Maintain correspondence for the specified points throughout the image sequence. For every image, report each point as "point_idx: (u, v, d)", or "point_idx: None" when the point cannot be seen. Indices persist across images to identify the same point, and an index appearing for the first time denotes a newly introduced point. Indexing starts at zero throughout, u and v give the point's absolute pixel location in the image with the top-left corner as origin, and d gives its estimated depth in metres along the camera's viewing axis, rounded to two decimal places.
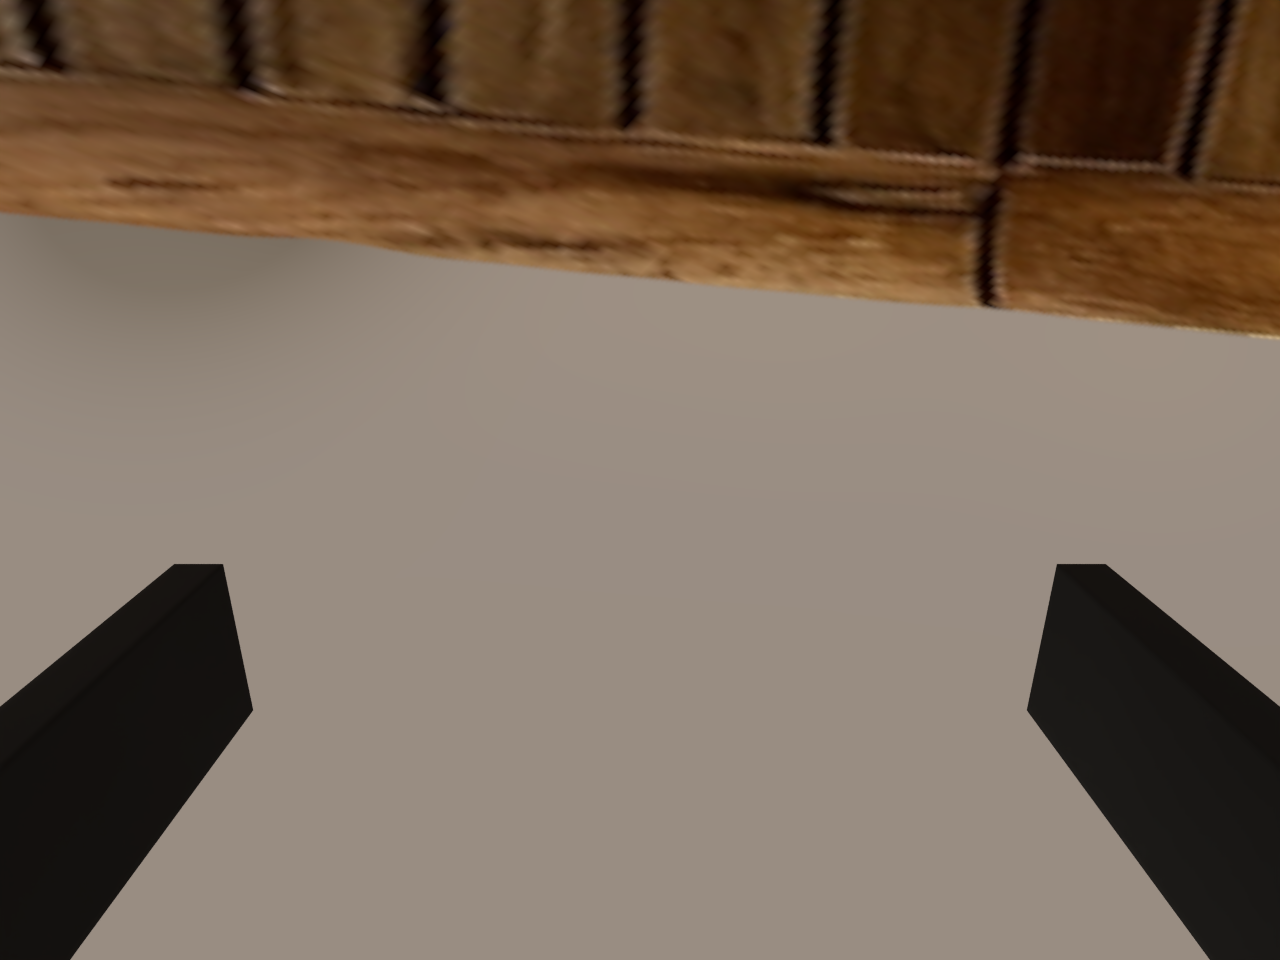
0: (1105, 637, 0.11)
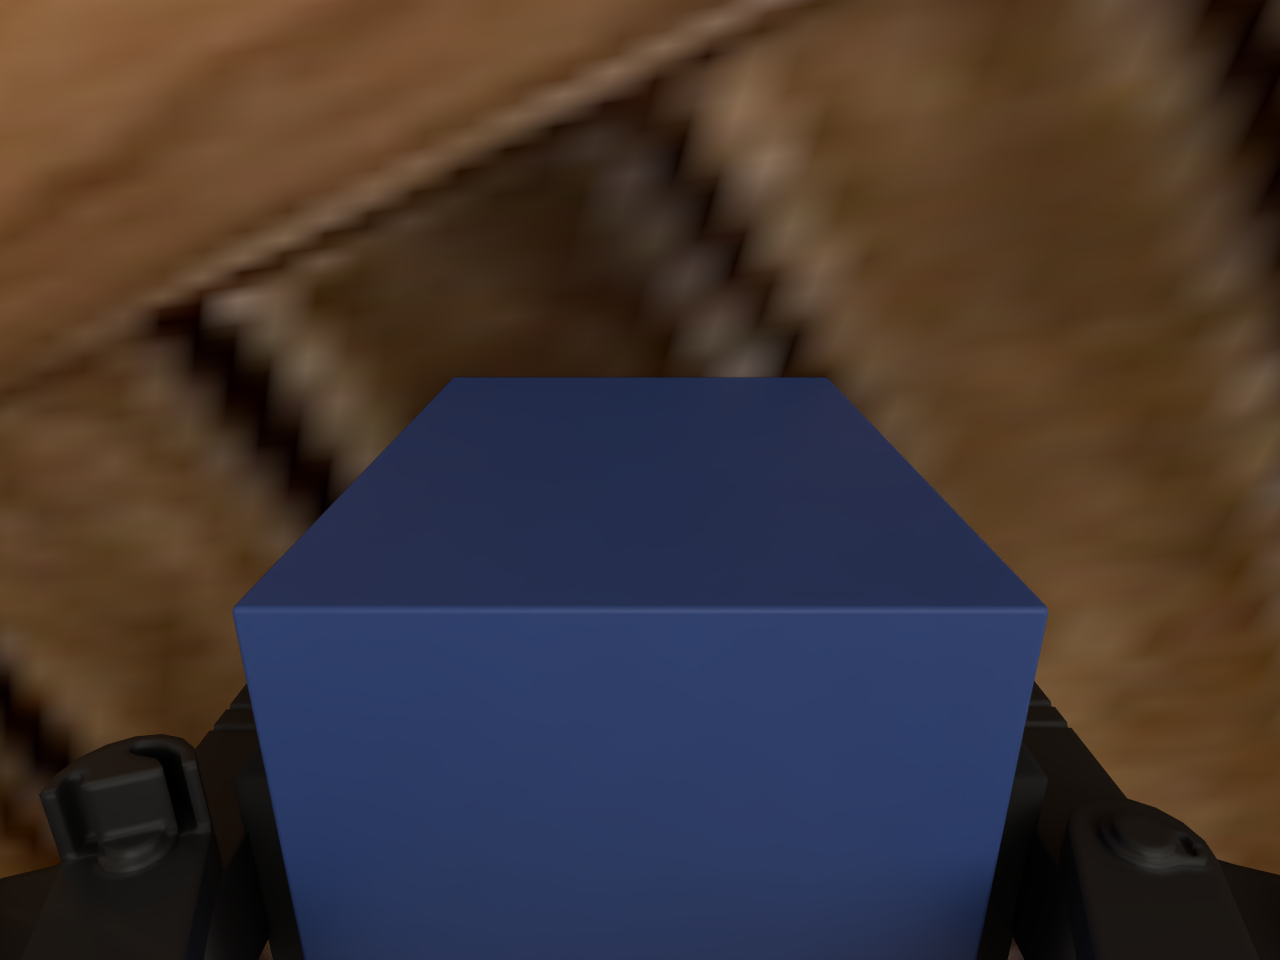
0: None
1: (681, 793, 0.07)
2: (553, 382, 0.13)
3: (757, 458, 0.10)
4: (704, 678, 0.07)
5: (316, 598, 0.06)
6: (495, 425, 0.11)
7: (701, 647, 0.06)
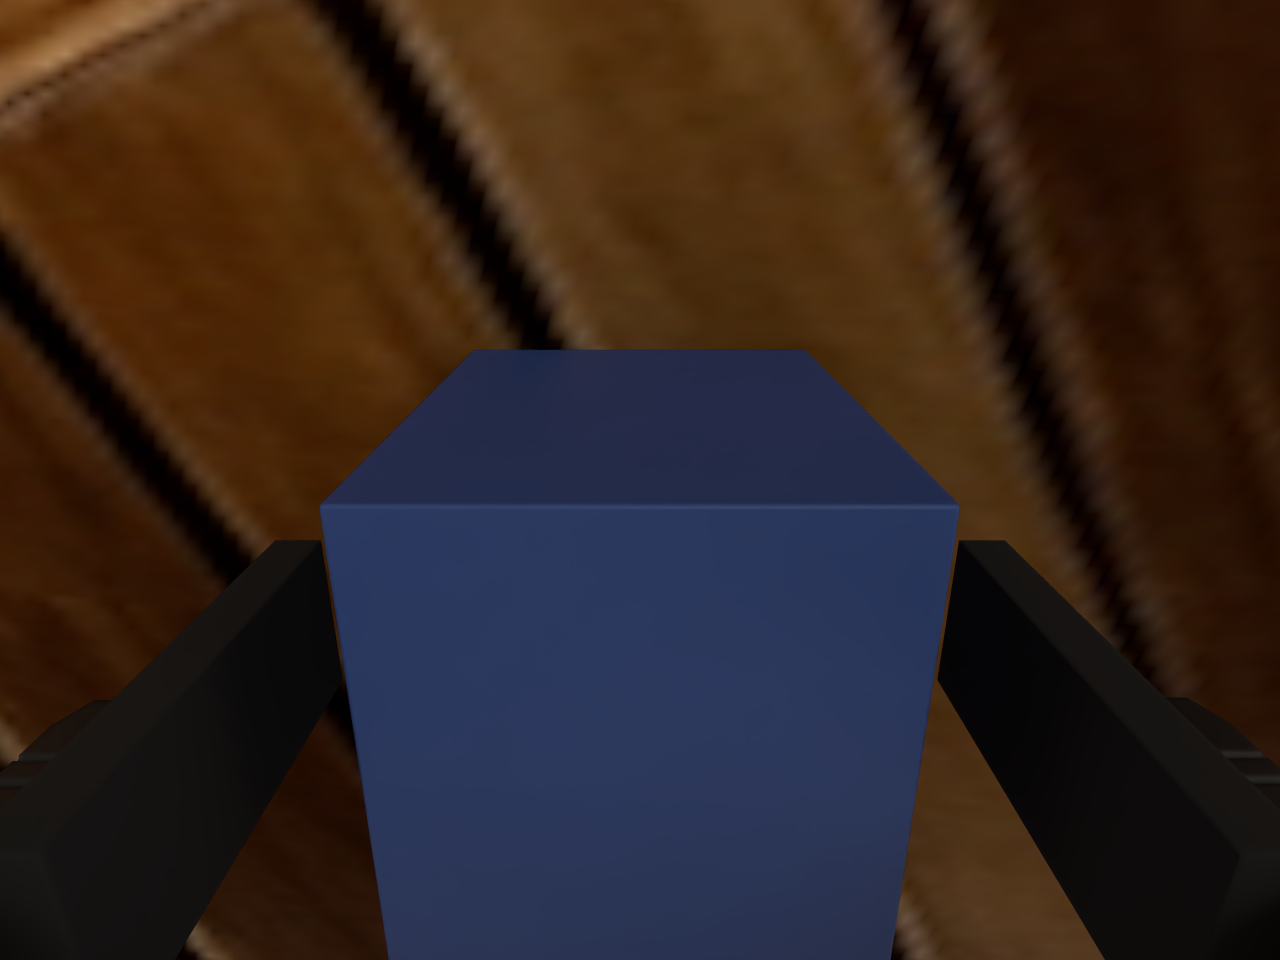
0: (993, 605, 0.12)
1: (672, 661, 0.09)
2: (562, 353, 0.15)
3: (739, 409, 0.11)
4: (690, 563, 0.08)
5: (384, 499, 0.08)
6: (515, 385, 0.13)
7: (688, 537, 0.08)
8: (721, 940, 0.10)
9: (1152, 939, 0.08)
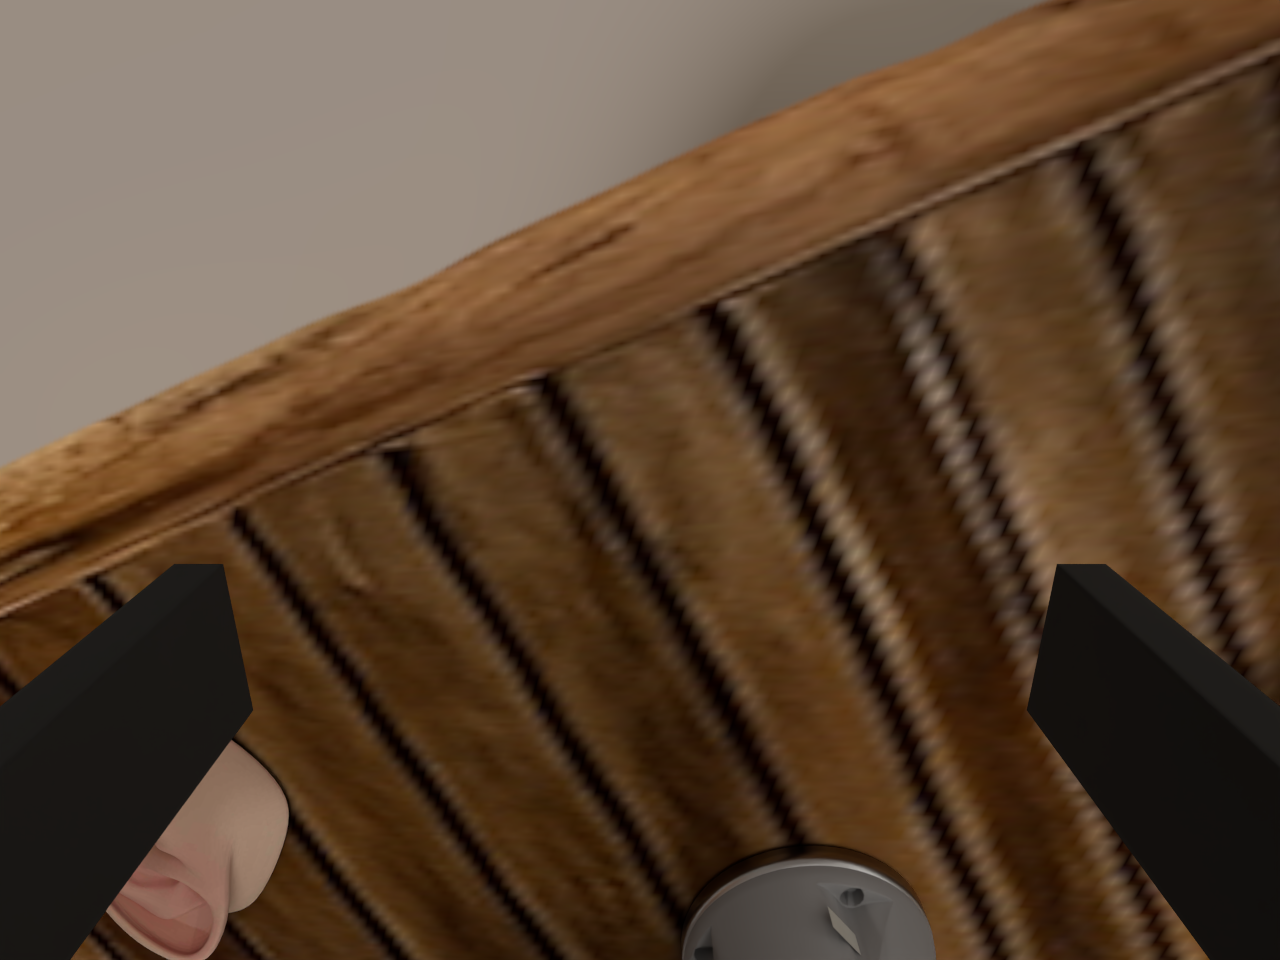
0: (1105, 637, 0.11)
1: None
2: None
3: None
4: None
5: None
6: None
7: None
8: None
9: None
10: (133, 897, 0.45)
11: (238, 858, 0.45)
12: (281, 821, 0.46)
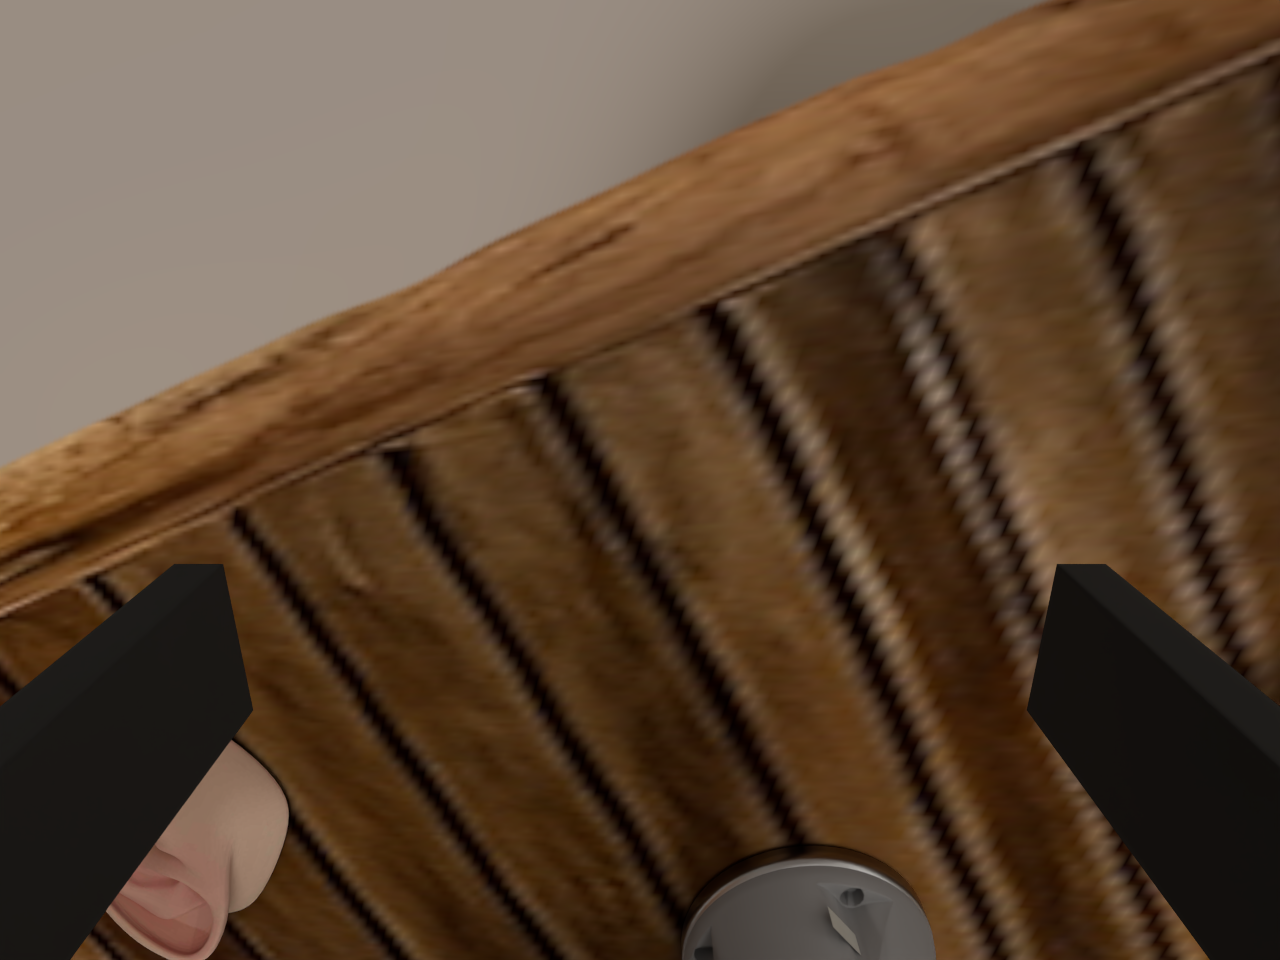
0: (1105, 637, 0.11)
1: None
2: None
3: None
4: None
5: None
6: None
7: None
8: None
9: None
10: (133, 897, 0.45)
11: (238, 858, 0.45)
12: (281, 821, 0.46)
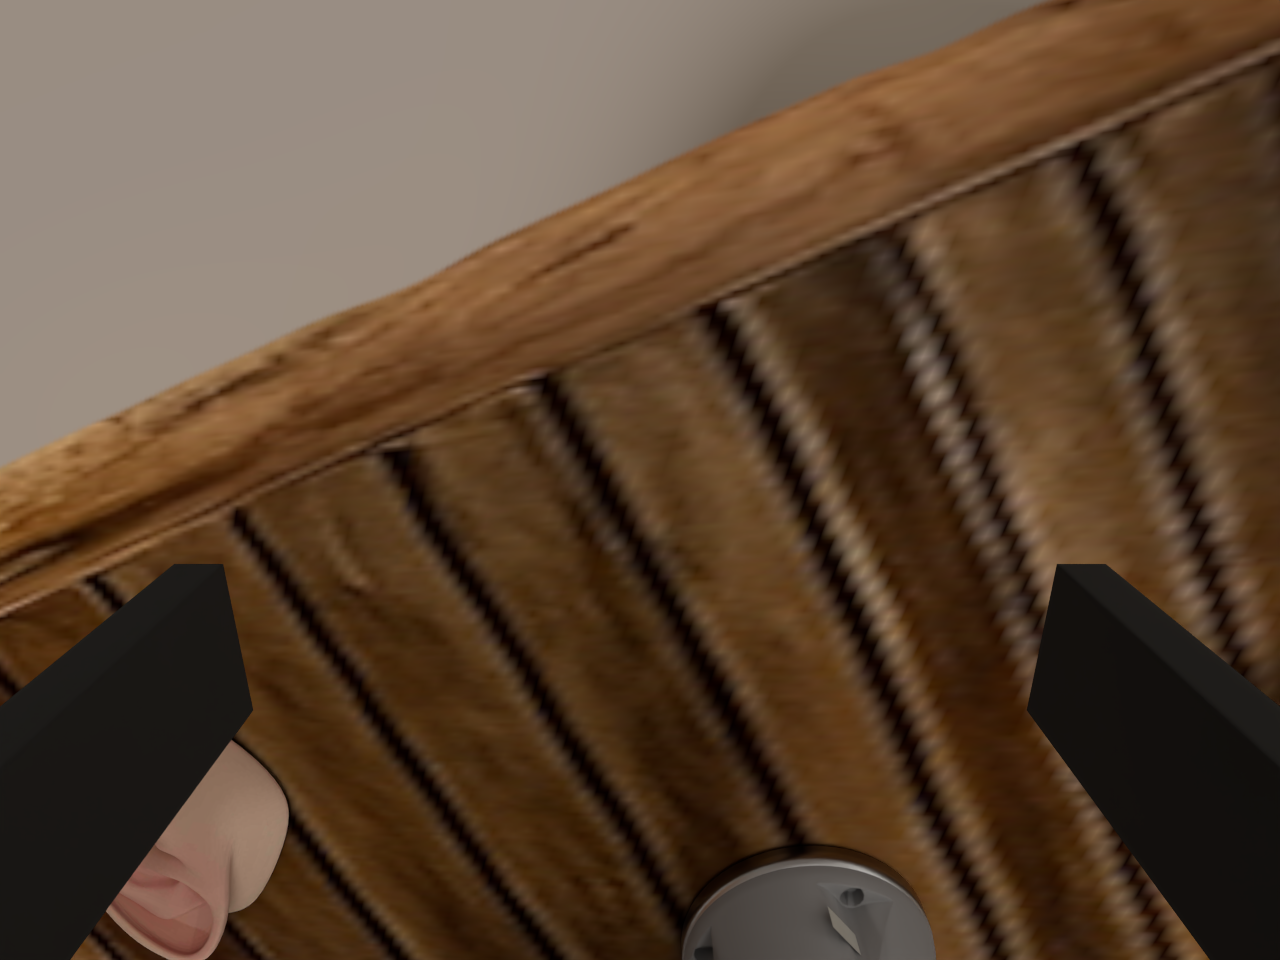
0: (1105, 637, 0.11)
1: None
2: None
3: None
4: None
5: None
6: None
7: None
8: None
9: None
10: (133, 897, 0.45)
11: (238, 858, 0.45)
12: (281, 821, 0.46)
